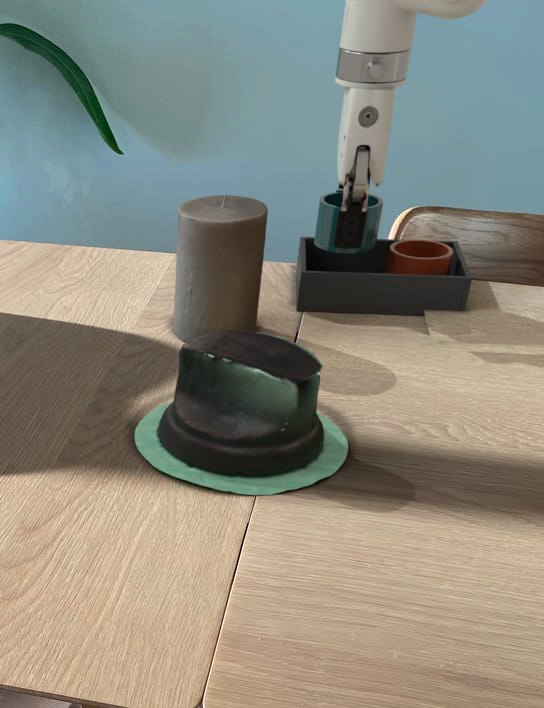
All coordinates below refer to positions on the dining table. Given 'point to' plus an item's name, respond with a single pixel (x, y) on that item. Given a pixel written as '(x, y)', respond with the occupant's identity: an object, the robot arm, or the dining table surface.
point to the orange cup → (419, 258)
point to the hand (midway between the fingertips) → (346, 234)
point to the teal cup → (328, 222)
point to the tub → (375, 282)
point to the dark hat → (244, 417)
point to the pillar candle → (218, 264)
